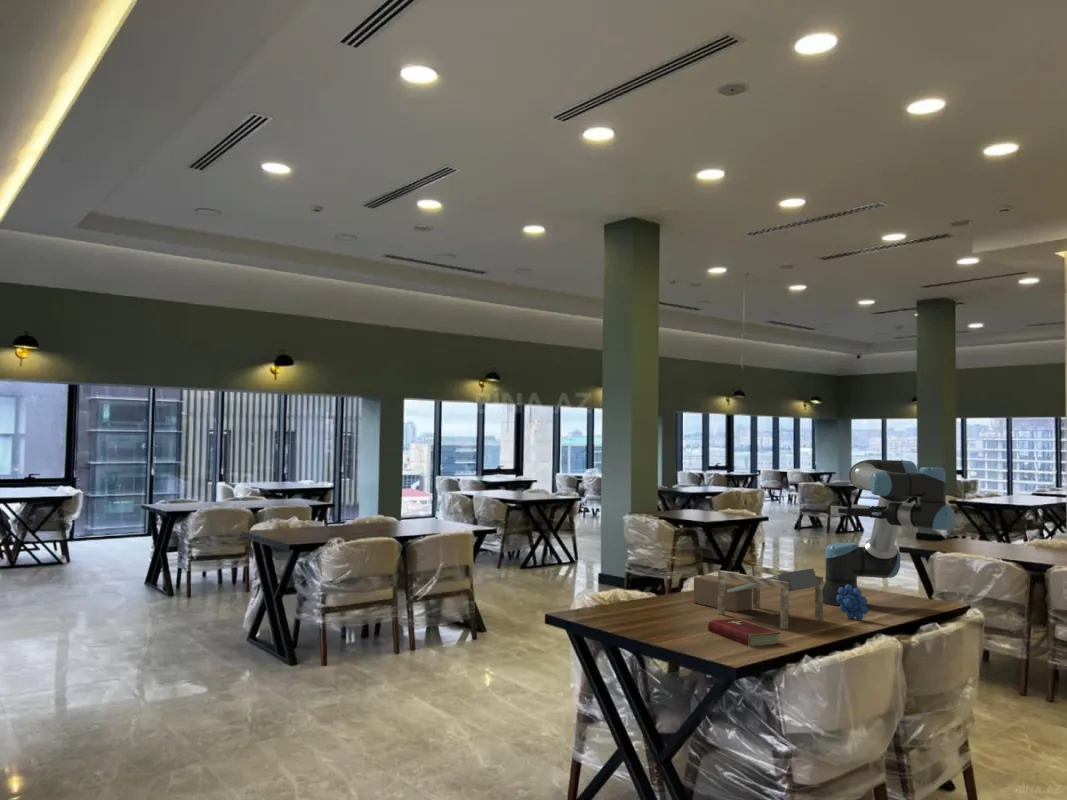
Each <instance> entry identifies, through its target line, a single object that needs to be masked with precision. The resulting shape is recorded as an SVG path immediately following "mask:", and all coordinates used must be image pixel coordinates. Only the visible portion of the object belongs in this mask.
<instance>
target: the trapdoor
mask: <svg viewBox="0 0 1067 800" xmlns="http://www.w3.org/2000/svg"><path fill="white" fill-rule="evenodd" d="M816 576H817V575H816V573H815V570H814V568H808V569H801V570H794V571H791V572H787V573H783V574H780V575H772V576H770V577H766V578H767V579H773V580H778V581H784V582H789V592H795V591H800V590H806V589H811V588H815V586H818V585H819V584H818V581H817V578H816ZM765 586H766V585H762V584H757V583H748V584H745V585H742V586H738V587H735V588H731V589H728V590H727V592H734V591H740V590H746V589H752V590H753V588H758V587H760V588H761V587H765Z"/></svg>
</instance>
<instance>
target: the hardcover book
mask: <svg viewBox="0 0 1067 800" xmlns="http://www.w3.org/2000/svg"><path fill="white" fill-rule="evenodd" d="M707 631H708V632H709V631H710V632H709V633H712V634H714V633H715V635H717V634H718V635H717V636H721V637H723V638H726V639H728V640H730V639H731V641H733V642H736V643H739V644H741V645H744V646H746V645H747V646H746V647H749V646H751V647H756V646H757V645H758V646H766V645H767V646H769V645H776V643H778V644H779V634H780V635H781V632H780V631H777V630H775V629H772V628H769V627H765V626H763V625H761V624H760V625H759V624H758V623H757V624H756V623H754V622H751V621H748V620H745V619H741V618H739V617H734V618H733V617H731V618H720V619H709V620H707Z"/></svg>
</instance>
